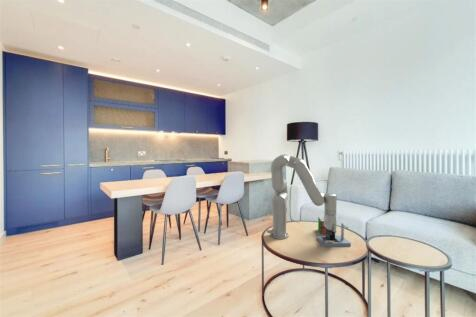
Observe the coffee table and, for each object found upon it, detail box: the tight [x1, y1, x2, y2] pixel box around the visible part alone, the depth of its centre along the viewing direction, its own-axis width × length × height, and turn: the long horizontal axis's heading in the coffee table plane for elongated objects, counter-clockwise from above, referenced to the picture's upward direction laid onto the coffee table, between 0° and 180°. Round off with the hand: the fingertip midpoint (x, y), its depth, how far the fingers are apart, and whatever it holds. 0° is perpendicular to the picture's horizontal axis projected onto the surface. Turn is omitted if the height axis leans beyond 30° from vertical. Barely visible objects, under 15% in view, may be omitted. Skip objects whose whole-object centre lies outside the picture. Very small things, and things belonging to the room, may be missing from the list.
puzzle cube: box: [317, 216, 326, 235], centre depth 168 cm, size 10×10×10 cm
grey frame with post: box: [316, 222, 352, 248], centre depth 150 cm, size 18×13×13 cm
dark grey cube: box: [324, 229, 335, 242], centre depth 150 cm, size 6×6×6 cm
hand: (330, 237), depth 150 cm, fingers closed on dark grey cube, 6 cm apart
